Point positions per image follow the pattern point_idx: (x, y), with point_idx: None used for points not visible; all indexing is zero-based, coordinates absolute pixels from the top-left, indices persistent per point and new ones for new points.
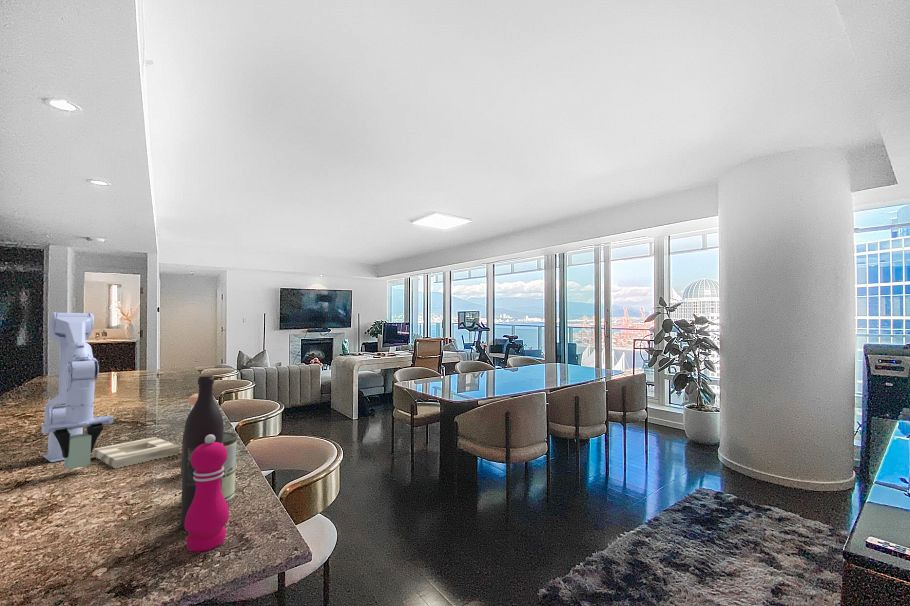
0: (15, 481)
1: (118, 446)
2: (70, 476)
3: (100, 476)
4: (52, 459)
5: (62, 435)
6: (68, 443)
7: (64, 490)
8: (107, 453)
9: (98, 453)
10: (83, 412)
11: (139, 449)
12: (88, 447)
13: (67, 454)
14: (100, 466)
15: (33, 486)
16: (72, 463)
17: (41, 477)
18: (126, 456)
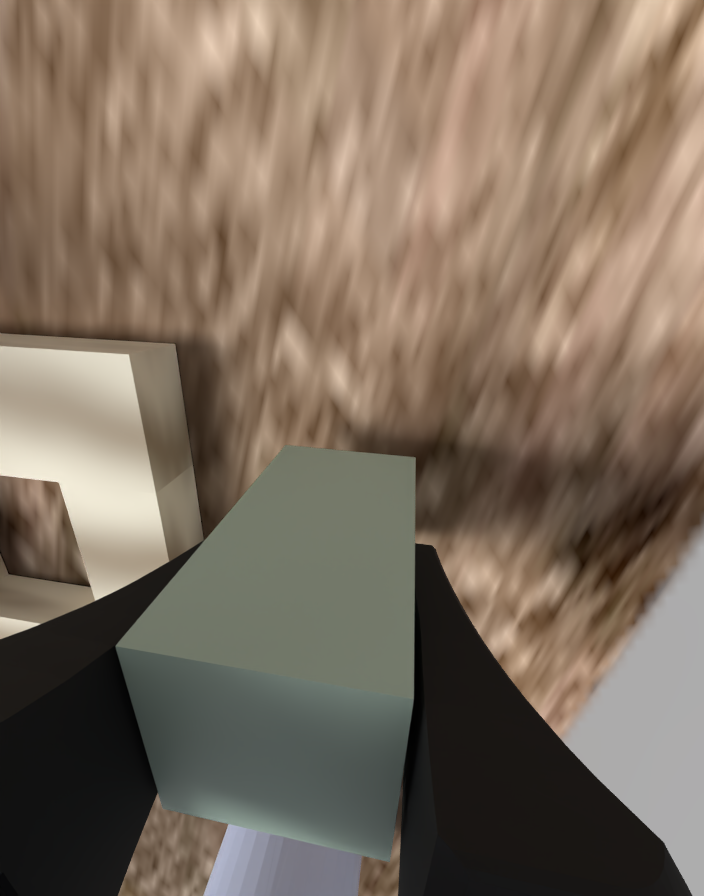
0: (612, 606)
1: None
2: (404, 433)
3: (278, 234)
4: None
5: (606, 850)
6: (424, 647)
7: (587, 29)
8: None
9: None
10: None
11: (29, 588)
12: (239, 527)
13: (417, 557)
14: (231, 489)
15: (627, 411)
16: (391, 472)
17: (505, 561)
18: (57, 385)
